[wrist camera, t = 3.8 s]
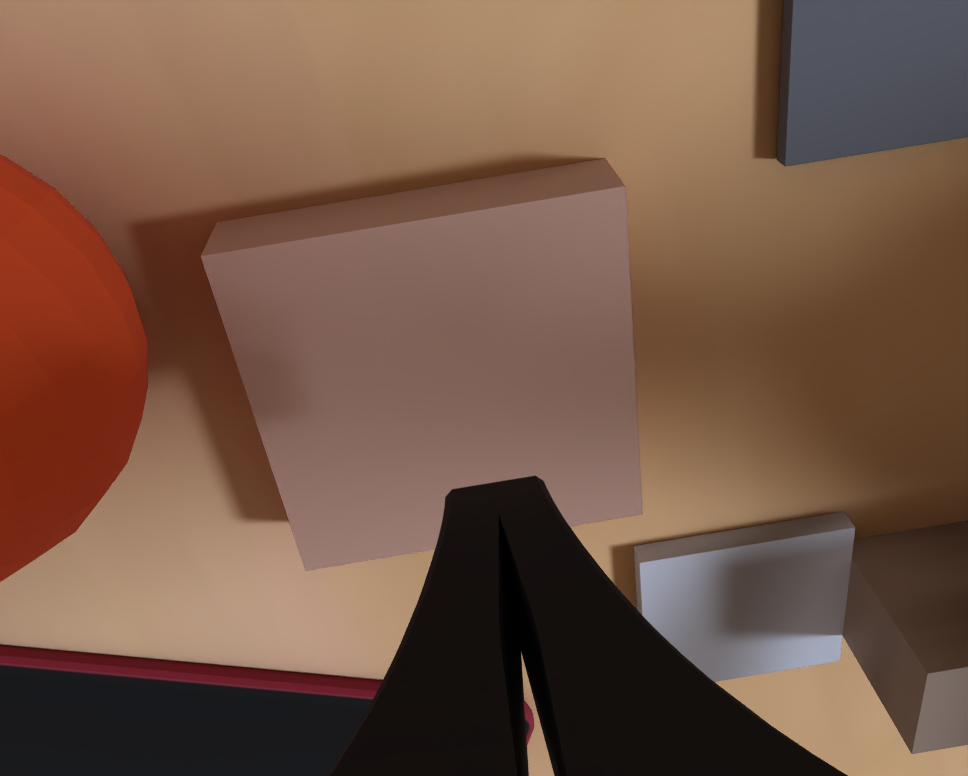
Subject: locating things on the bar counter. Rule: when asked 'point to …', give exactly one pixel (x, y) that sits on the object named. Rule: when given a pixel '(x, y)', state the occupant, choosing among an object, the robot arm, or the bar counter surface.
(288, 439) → the tile
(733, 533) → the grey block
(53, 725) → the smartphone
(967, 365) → the bar counter surface
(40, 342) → the clementine
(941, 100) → the mat
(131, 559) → the bar counter surface
